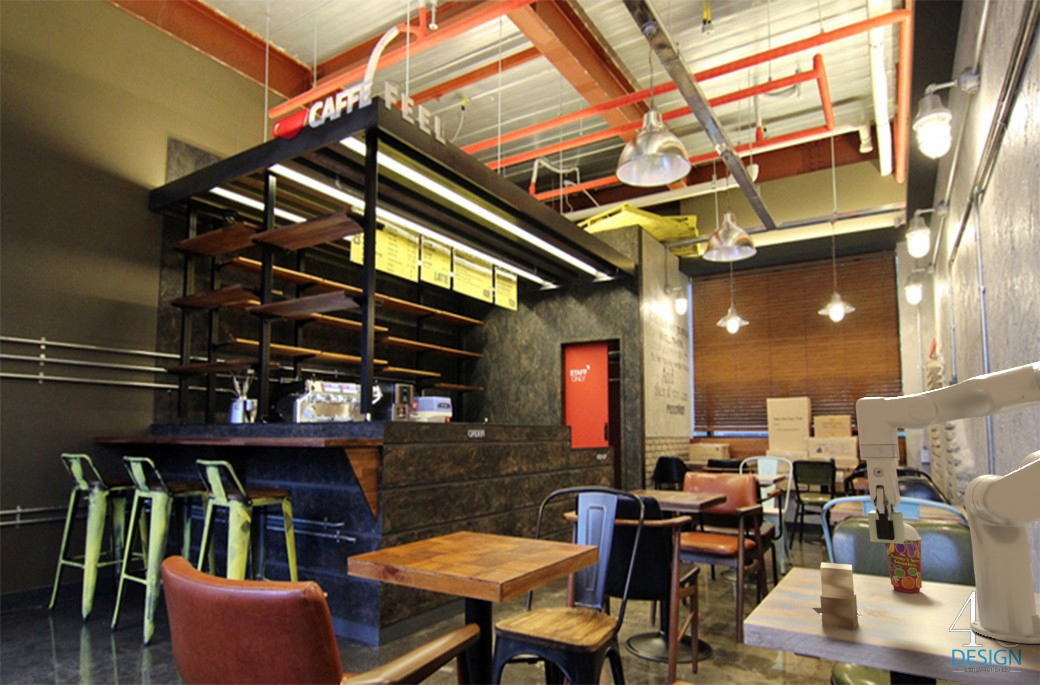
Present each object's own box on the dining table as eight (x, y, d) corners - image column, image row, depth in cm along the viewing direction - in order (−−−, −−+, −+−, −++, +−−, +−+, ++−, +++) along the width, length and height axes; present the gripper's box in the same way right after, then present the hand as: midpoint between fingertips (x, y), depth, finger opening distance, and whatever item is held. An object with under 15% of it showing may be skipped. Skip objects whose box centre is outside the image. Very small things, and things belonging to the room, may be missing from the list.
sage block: (905, 539, 138) (902, 511, 139) (902, 543, 133) (899, 514, 134) (873, 537, 142) (871, 510, 143) (870, 541, 137) (867, 513, 138)
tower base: (858, 623, 135) (856, 594, 136) (853, 630, 131) (851, 600, 131) (827, 619, 139) (825, 590, 140) (822, 625, 134) (820, 595, 135)
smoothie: (892, 593, 161) (886, 512, 164) (884, 586, 169) (878, 509, 172) (930, 596, 159) (923, 514, 162) (920, 588, 167) (913, 510, 170)
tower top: (854, 593, 137) (851, 564, 138) (854, 600, 132) (851, 569, 132) (823, 590, 140) (821, 562, 140) (822, 596, 134) (820, 567, 135)
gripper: (895, 454, 131) (904, 544, 129) (902, 452, 145) (911, 533, 142) (854, 454, 136) (862, 541, 133) (865, 452, 150) (873, 531, 147)
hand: (887, 536), depth 138 cm, fingers closed on sage block, 6 cm apart
